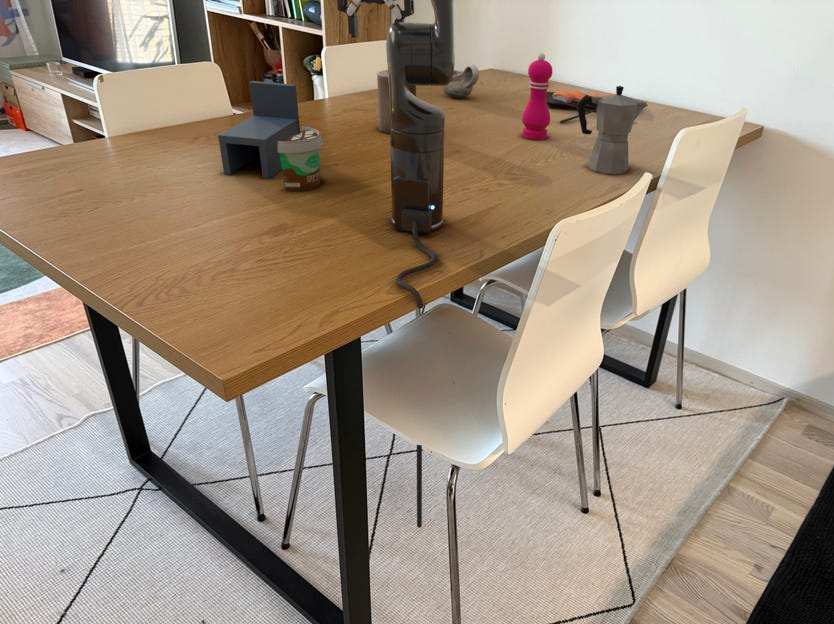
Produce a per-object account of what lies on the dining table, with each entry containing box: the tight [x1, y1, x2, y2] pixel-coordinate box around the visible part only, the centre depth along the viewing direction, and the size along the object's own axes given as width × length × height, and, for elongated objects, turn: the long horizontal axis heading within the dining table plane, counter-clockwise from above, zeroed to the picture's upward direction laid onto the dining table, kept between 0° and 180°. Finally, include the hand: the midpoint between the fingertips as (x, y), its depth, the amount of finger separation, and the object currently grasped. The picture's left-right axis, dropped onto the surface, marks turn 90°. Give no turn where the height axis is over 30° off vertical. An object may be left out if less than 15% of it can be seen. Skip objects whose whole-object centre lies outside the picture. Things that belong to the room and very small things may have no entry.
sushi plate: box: [546, 90, 614, 124], centre depth 204 cm, size 29×30×4 cm
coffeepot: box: [576, 85, 649, 175], centre depth 156 cm, size 15×9×18 cm, turn 88°
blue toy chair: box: [217, 80, 301, 179], centre depth 149 cm, size 18×10×15 cm, turn 170°
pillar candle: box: [376, 69, 417, 134], centre depth 176 cm, size 10×10×15 cm
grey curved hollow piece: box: [441, 64, 480, 99], centre depth 211 cm, size 10×12×10 cm
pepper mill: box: [521, 52, 553, 141], centre depth 175 cm, size 7×7×20 cm
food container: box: [278, 125, 324, 192], centre depth 140 cm, size 12×6×10 cm, turn 168°
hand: (376, 38), depth 134 cm, fingers open, 8 cm apart
